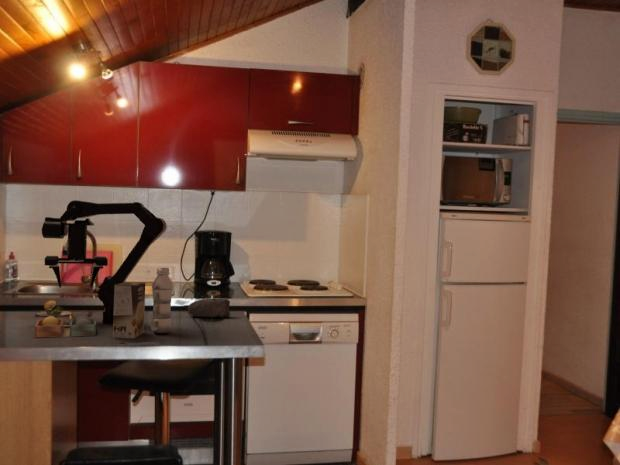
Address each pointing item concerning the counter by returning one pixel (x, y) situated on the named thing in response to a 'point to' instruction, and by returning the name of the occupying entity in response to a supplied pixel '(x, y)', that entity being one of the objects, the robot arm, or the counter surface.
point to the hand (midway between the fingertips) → (75, 287)
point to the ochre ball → (50, 321)
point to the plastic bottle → (162, 302)
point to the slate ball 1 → (81, 318)
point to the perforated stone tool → (209, 308)
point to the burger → (52, 310)
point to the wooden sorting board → (65, 329)
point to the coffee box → (128, 309)
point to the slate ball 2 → (83, 322)
